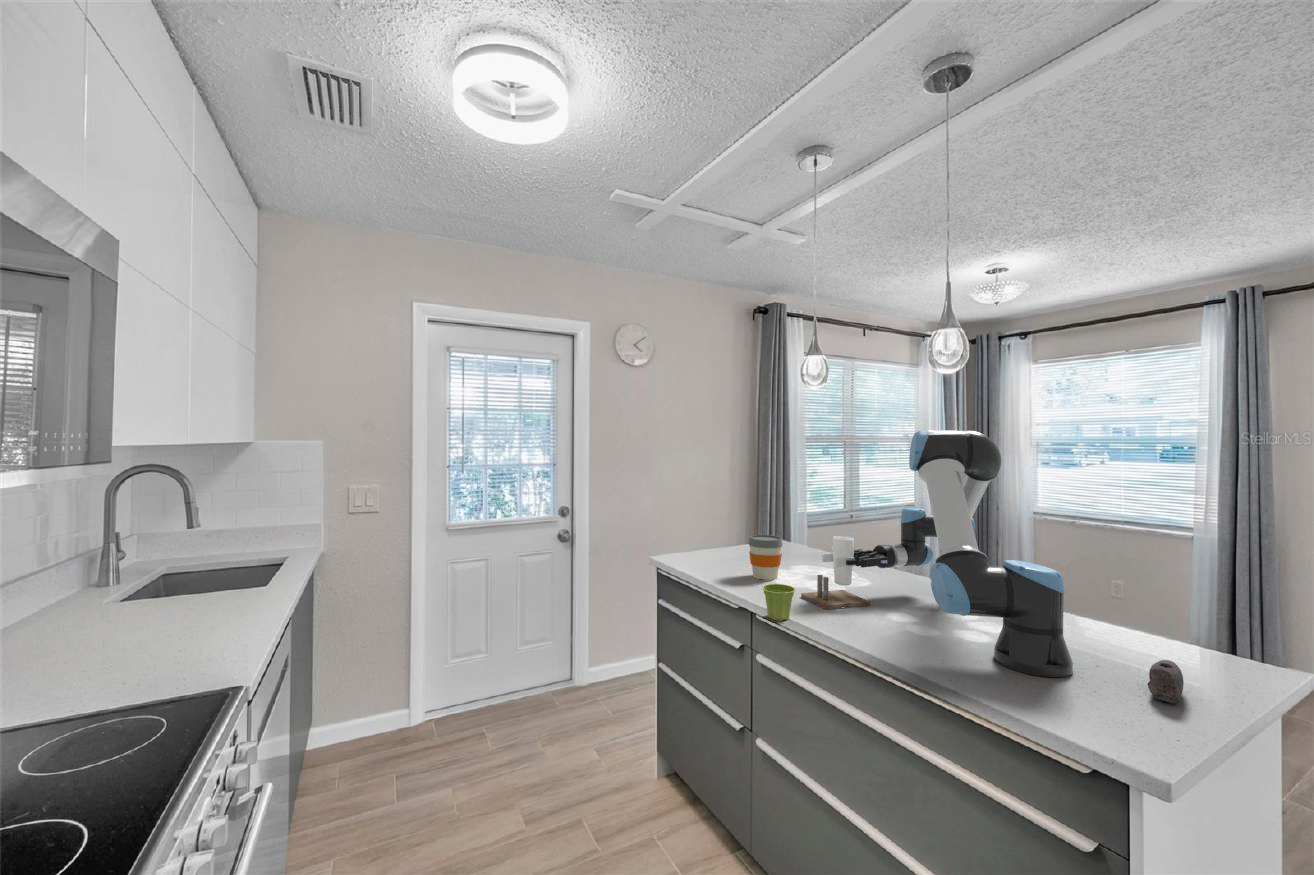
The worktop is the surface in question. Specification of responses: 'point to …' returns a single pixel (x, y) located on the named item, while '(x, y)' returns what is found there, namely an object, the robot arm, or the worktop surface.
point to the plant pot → (778, 600)
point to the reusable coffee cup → (765, 556)
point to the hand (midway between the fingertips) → (829, 560)
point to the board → (833, 596)
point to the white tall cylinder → (842, 549)
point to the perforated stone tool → (1166, 681)
